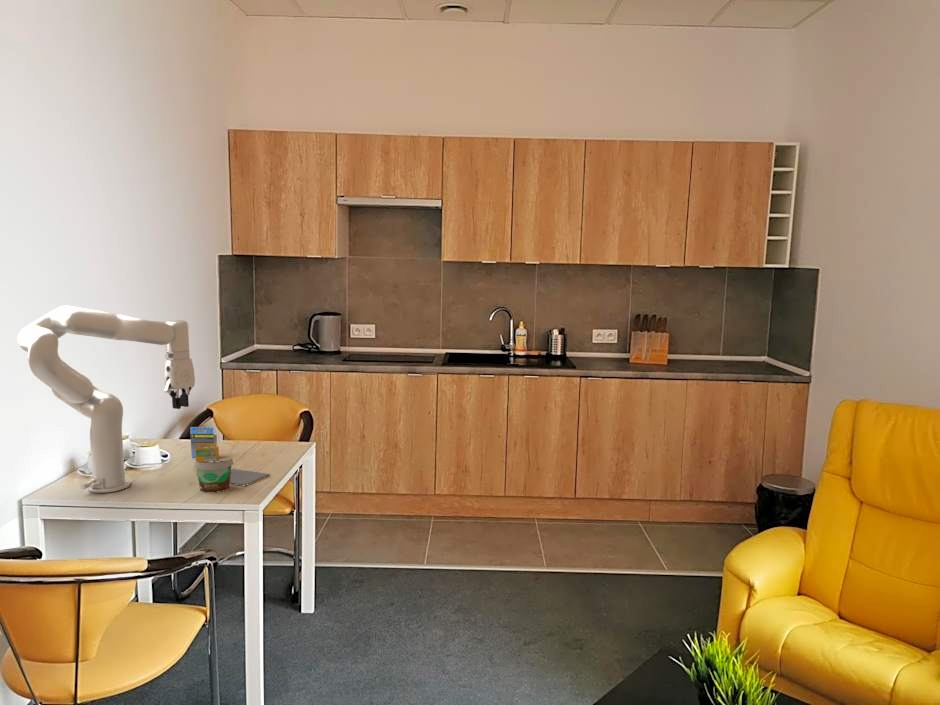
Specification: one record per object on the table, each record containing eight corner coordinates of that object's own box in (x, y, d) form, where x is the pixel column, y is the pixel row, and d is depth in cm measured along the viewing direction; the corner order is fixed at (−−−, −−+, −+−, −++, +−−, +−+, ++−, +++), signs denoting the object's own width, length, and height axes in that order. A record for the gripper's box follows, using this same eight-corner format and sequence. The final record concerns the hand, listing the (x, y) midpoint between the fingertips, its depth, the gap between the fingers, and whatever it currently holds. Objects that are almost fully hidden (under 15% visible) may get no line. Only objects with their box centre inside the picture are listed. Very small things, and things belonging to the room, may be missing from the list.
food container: (193, 495, 240) (192, 465, 239) (195, 489, 246) (193, 459, 245) (234, 492, 244) (232, 462, 242) (234, 486, 250) (233, 457, 248)
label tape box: (218, 456, 285) (216, 424, 283) (214, 459, 281) (213, 427, 279) (195, 456, 285) (193, 424, 283) (191, 459, 281) (189, 427, 279)
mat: (245, 486, 249) (245, 484, 249) (207, 480, 255) (207, 478, 255) (269, 475, 261) (269, 473, 261) (233, 470, 267) (232, 468, 267)
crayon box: (220, 473, 264) (218, 441, 262) (217, 475, 261) (216, 443, 259) (198, 473, 263) (197, 441, 262) (196, 476, 260) (194, 443, 259)
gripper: (168, 359, 252) (171, 413, 254) (203, 353, 267) (205, 403, 269) (151, 358, 255) (154, 411, 257) (186, 352, 270) (189, 402, 272)
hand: (180, 406), depth 263 cm, fingers open, 3 cm apart
